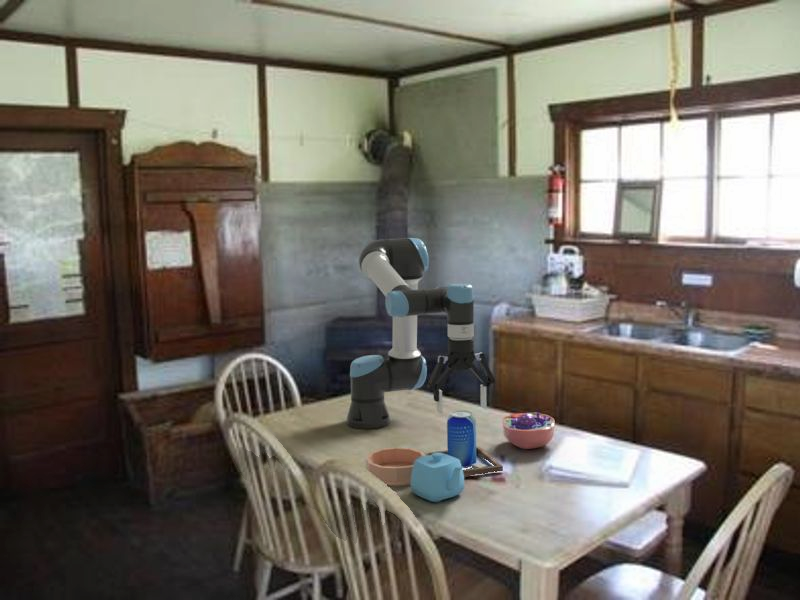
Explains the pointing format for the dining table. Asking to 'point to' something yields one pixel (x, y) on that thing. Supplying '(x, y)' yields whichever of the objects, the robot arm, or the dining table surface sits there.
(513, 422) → the cell model
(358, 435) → the dining table surface
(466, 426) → the beer can
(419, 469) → the teapot
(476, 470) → the tray
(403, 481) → the dish
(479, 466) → the stone
